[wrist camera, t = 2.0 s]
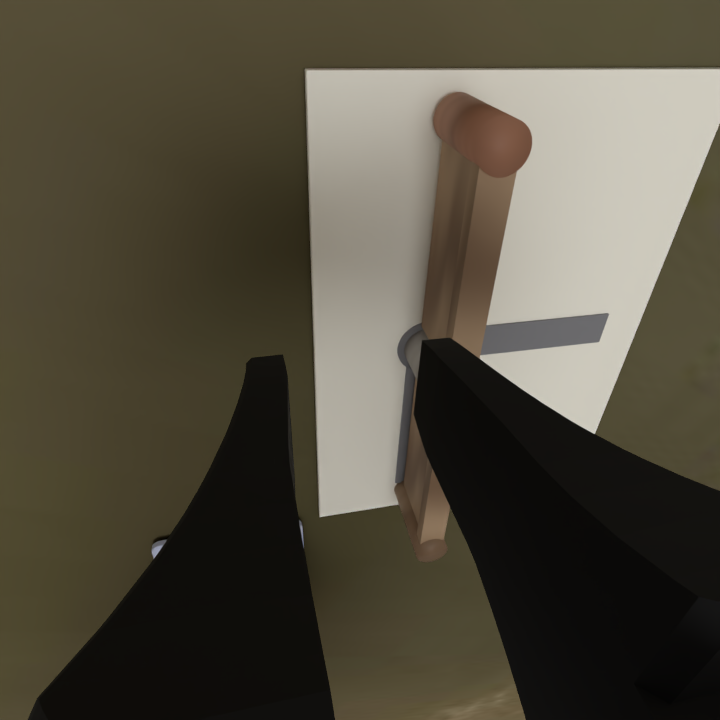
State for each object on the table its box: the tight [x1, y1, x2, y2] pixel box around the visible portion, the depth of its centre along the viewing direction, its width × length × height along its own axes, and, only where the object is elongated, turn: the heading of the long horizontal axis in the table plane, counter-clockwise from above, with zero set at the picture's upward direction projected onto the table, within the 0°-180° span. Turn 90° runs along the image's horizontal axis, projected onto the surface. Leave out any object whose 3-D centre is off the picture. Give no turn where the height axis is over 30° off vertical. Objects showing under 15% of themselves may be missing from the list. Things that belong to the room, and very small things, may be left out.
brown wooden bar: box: [421, 92, 532, 359], centre depth 18 cm, size 9×2×4 cm, turn 179°
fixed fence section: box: [394, 330, 450, 562], centre depth 25 cm, size 11×2×5 cm, turn 179°
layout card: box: [305, 68, 720, 517], centre depth 24 cm, size 22×16×1 cm
